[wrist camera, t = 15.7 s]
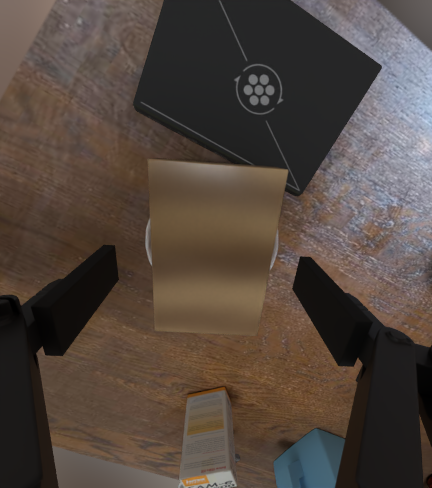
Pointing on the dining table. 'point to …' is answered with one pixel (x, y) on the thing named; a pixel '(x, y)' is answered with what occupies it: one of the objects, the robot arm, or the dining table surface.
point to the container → (310, 462)
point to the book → (253, 82)
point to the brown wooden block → (212, 243)
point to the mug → (429, 482)
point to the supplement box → (208, 441)
